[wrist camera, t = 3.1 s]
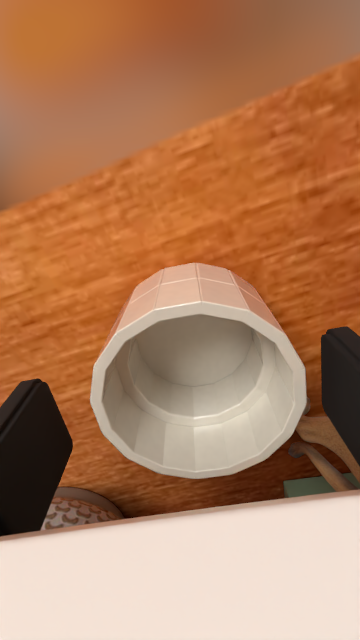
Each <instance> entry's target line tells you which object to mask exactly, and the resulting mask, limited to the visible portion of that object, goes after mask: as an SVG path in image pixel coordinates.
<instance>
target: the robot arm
mask: <svg viewBox="0 0 360 640" xmlns="http://www.w3.org/2000/svg"><path fill="white" fill-rule="evenodd" d="M321 373H322V405H323V409H324V411H325V413H326V414H327V416H328V418H329V419H330V421H331V422H332V424H333V426H334V427H335V429H336V430H337V432H338V433H339V435H340V437H341V438H342V440H343V441H344V443H345V444H346V446H347V448H348V449H349V451H350V452H351V454H352V455H353V457H354V459H355V460H356V462H357V463H358V465H359V466H360V337H359V336H358V335H357V334H356V333H355V332H353V331H352V330H351V329H350V328H349V327H340V328H334V329H328V330H327V332H326V334H325V335H322V337H321ZM72 448H73V443H72V439H71V436H70V434H69V432H68V430H67V427H66V425H65V423H64V420H63V418H62V416H61V414H60V411H59V409H58V407H57V405H56V402H55V400H54V398H53V395H52V393H51V391H50V389H49V386H48V384H47V383H46V382H42V381H41V380H40V379H33V380H28V381H22V382H20V383H19V385H18V386H17V387H16V388H15V390H14V391H13V392H12V393H11V395H10V396H9V397H8V398H7V400H6V401H5V402H4V404H3V405H2V406H1V407H0V640H360V489H359V490H350V491H341V492H332V493H323V494H315V495H307V496H299V497H291V498H283V499H275V500H267V501H259V502H251V503H244V504H236V505H228V506H220V507H212V508H205V509H197V510H189V511H182V512H174V513H167V514H159V515H152V516H144V517H136V518H129V519H121V520H114V521H107V522H99V523H92V524H85V525H78V526H70V527H63V528H56V529H49V530H42V531H40V530H41V527H42V525H43V522H44V520H45V517H46V515H47V512H48V510H49V507H50V505H51V502H52V500H53V497H54V495H55V492H56V490H57V487H58V485H59V482H60V480H61V477H62V474H63V472H64V469H65V467H66V464H67V462H68V459H69V457H70V454H71V452H72Z"/></svg>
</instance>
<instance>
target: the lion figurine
mask: <svg viewBox="0 0 360 640" xmlns="http://www.w3.org/2000/svg"><path fill="white" fill-rule="evenodd" d="M310 408H311V406H310V399H309V398H308V397H307V403H306V407H305V409H304V411H303V413H302V415H301V418H300V420H299V422H298V424H297V426H296V428H295V430H296V431H297V433H298V434H299V436H300V437H301V438H302V439H303V440H304V441H306V442H310V443H319V444H321V445H323V446H325V447H327V448H328V449H330V450H331V451H333V452H334V453H336V454H337V455H338V456H339V457H340V458H341V459H342V460H343V462H344V463H345V464H346V465H347V466H348V468H349V469H350V470H351V472H352V473H353V475H354V476H355V477H356V479H357V480H358V482H359V483H360V466H359V465H358V463H357V462H356V460H355V459H354V457H353V455H352V454H351V452H350V451H349V449H348V448H347V446H346V444H345V443H344V441H343V440H342V438H341V437H340V435H339V433H338V432H337V430H336V429H335V427H334V426H333V424H332V422H331V421H330V419H329V418H328V416H321V417H307V416H304V415H305V414H306V413H308V411H309V410H310ZM288 453H289V455H291V456H292V457H294V458H298V457H301V456H302V455H304V454H306V455H307V456H308V457H309V458H310V460H311V461H312V463H313V464H314V465H315V467H316V468H317V469H318V470H319V472H320V473H321V474H322V476H323V477H324V478H325V479H326V481H327V482H328V483H329V484H330V485H331V486H332V487H333V488H334V489H335V491H336V492H341V491H350V490H359V488H357V487H356V486H355V485H354V484H352V483H351V482H350V481H349V480H348V479H347V478H346V477H344V476H343V475H342V474H341V473H340V472H339V471H338V470H337V469H336V468H334V467H333V466H332V465H331V464H330V463H329V462H328V461H327V460H326V459H325V458H324V457H323V456H322V455H321V454H320V453H319V452H318V451H317V450H316V449H315V448H314V447H312V446H311V445H309V444H308V443H305V442H301V441H300V442H296V443H292V444H291V447H290V448H289V450H288Z"/></svg>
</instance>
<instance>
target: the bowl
mask: <svg viewBox="0 0 360 640" xmlns="http://www.w3.org/2000/svg"><path fill="white" fill-rule="evenodd" d="M90 403H91V406H92V408H93V411H94V414H95V416H96V419H97V421H98V424H99V427H100V429H101V432H102V433H103V435H104V436H105V437H106V438H107V439H108V440H109V441H110V442H111V443H112V444H113V445H114V446H115V447H116V448H117V449H118V450H119V451H120V452H121V453H122V454H123V455H124V456H125V457H126V458H127V459H129V460H131V461H133V462H136V463H138V464H140V465H142V466H144V467H146V468H148V469H150V470H152V471H154V472H156V473H159V474H164V475H170V476H177V477H183V478H190V479H202V478H210V477H218V476H225V475H232V474H235V473H237V472H239V471H242V470H244V469H246V468H248V467H251V466H253V465H255V464H257V463H260V462H262V461H264V460H265V459H267V458H268V457H269V456H271V455H272V454H273V453H274V452H275V451H276V450H277V449H278V448H279V447H280V446H281V445H283V444H284V443H285V442H286V441H287V440H288V439H289V438H290V437H291V436H292V435H293V433H294V431H295V428H296V426H297V424H298V422H299V420H300V418H301V415H302V413H303V411H304V409H305V407H306V403H307V395H306V369H305V366H304V364H303V363H302V361H301V359H300V358H299V356H298V354H297V352H296V351H295V349H294V347H293V346H292V344H291V342H290V340H289V339H288V337H287V335H286V334H285V332H284V331H283V329H282V328H281V326H280V325H279V323H278V322H277V320H276V319H275V317H274V316H273V314H272V313H271V311H270V310H269V308H268V307H267V305H266V304H265V302H264V301H263V299H262V298H261V296H260V295H259V293H258V292H257V290H256V289H255V288H254V287H253V286H252V285H251V284H249V283H248V282H246V281H245V280H244V279H242V278H241V277H239V276H238V275H236V274H235V273H233V272H232V271H231V270H227V269H226V268H221V267H216V266H211V265H206V264H201V263H190V264H185V265H179V266H174V267H169V268H165V269H164V270H163V269H161V270H160V271H158V272H157V273H155V274H154V275H152V276H151V277H149V278H148V279H146V280H145V281H143V282H142V283H140V284H139V285H137V287H136V288H135V289H134V290H133V292H132V293H131V295H130V296H129V298H128V300H127V301H126V303H125V304H124V306H123V307H122V309H121V311H120V313H119V315H118V317H117V319H116V321H115V323H114V325H113V327H112V329H111V332H110V333H109V335H108V337H107V339H106V341H105V344H104V346H103V348H102V350H101V352H100V354H99V356H98V358H97V360H96V362H95V364H94V367H93V376H92V385H91V394H90Z"/></svg>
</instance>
